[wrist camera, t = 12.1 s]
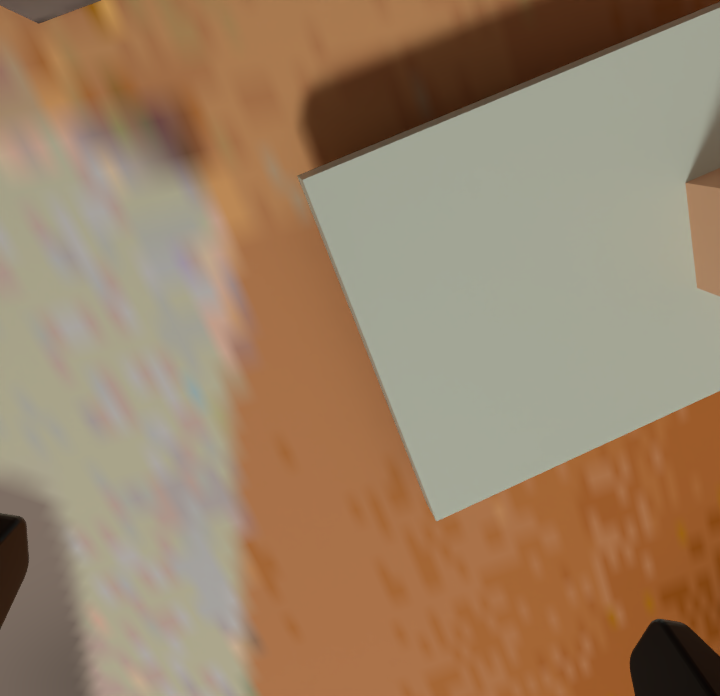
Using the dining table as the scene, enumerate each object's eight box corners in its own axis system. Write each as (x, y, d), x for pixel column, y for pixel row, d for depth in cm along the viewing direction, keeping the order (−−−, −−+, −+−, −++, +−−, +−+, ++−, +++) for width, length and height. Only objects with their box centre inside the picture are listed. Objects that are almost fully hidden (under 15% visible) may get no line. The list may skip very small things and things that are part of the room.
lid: (413, 479, 23) (573, 775, 13) (290, 170, 17) (395, 255, 8) (739, 331, 23) (1129, 497, 14) (712, -4, 18) (1304, -133, 8)
